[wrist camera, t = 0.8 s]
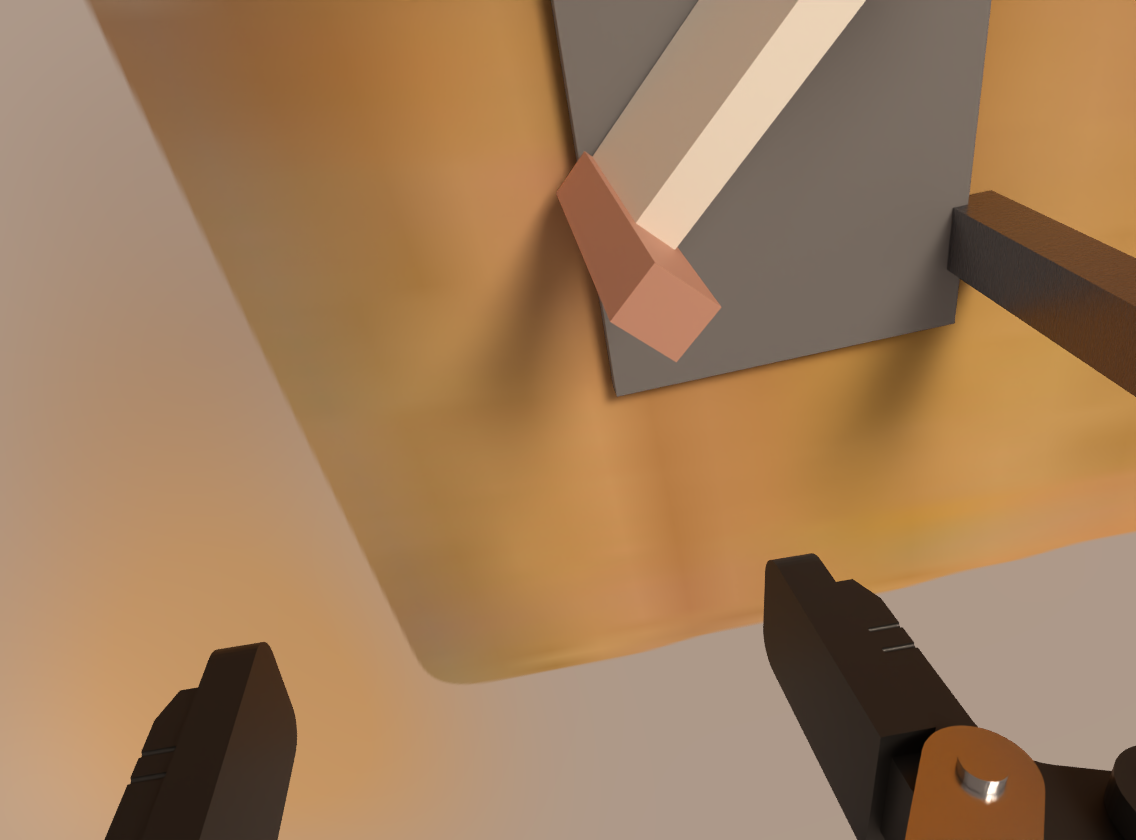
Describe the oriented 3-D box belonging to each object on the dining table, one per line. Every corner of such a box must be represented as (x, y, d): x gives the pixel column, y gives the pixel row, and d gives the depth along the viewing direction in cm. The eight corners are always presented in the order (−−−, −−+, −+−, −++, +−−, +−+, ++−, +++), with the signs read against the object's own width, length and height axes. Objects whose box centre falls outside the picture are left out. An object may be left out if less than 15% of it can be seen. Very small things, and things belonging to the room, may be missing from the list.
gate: (887, -300, 25) (1212, -472, 14) (934, -242, 26) (1271, -364, 15) (555, 192, 32) (610, 321, 21) (602, 224, 33) (676, 362, 22)
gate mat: (493, -353, 24) (495, -364, 23) (1024, -458, 24) (1045, -472, 23) (613, 386, 39) (617, 396, 38) (943, 314, 39) (954, 323, 38)
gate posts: (892, -378, 25) (1348, -697, 12) (983, -415, 25) (1541, -778, 12) (933, 269, 38) (1180, 439, 25) (994, 247, 37) (1273, 408, 25)
